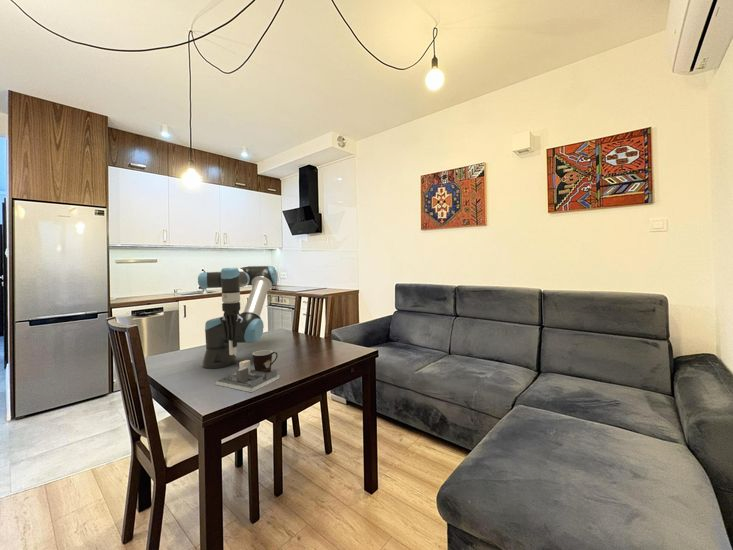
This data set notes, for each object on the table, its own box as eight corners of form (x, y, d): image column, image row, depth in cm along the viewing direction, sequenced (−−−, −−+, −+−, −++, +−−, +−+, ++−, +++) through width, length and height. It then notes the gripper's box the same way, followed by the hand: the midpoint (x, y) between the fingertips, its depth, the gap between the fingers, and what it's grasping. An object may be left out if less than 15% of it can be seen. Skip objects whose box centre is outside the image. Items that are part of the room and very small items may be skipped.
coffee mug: (254, 379, 137) (253, 356, 136) (251, 373, 145) (251, 351, 144) (281, 374, 142) (280, 352, 142) (277, 368, 150) (276, 348, 149)
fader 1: (239, 373, 138) (239, 362, 138) (246, 370, 142) (246, 359, 142) (243, 374, 137) (243, 362, 137) (250, 371, 141) (250, 360, 141)
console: (215, 384, 131) (215, 375, 130) (245, 372, 145) (245, 363, 145) (251, 392, 122) (251, 382, 122) (279, 378, 136) (279, 369, 136)
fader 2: (236, 382, 128) (236, 369, 128) (244, 379, 132) (243, 366, 131) (240, 383, 127) (240, 370, 127) (248, 379, 131) (248, 367, 130)
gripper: (213, 302, 141) (215, 354, 141) (234, 303, 135) (236, 358, 136) (227, 300, 147) (229, 350, 148) (248, 301, 142) (250, 353, 143)
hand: (233, 354), depth 142 cm, fingers closed
